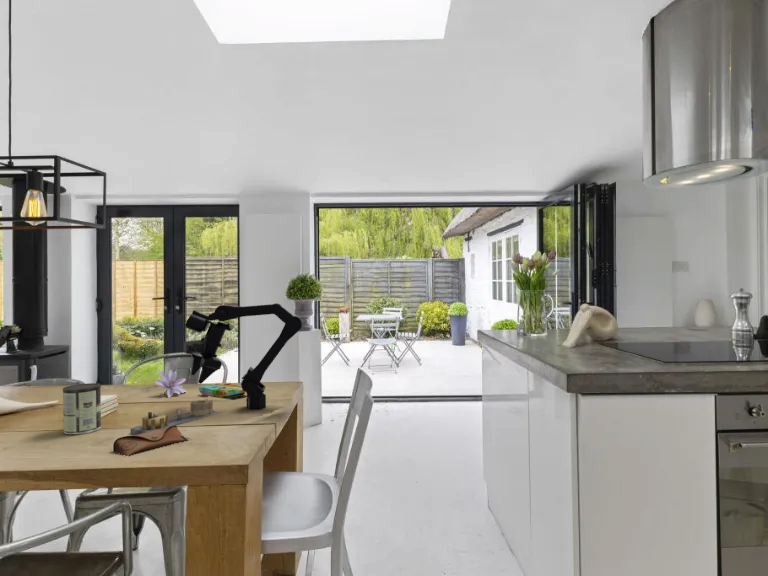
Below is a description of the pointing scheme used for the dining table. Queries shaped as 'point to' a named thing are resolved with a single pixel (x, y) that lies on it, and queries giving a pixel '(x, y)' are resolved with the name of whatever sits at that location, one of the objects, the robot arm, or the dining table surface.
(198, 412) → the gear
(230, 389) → the puzzle game
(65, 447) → the dining table surface
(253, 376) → the robot arm
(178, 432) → the sunglasses case
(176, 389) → the water lily
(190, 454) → the dining table surface
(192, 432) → the dining table surface
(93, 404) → the coffee can
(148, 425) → the gear board
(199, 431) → the dining table surface
